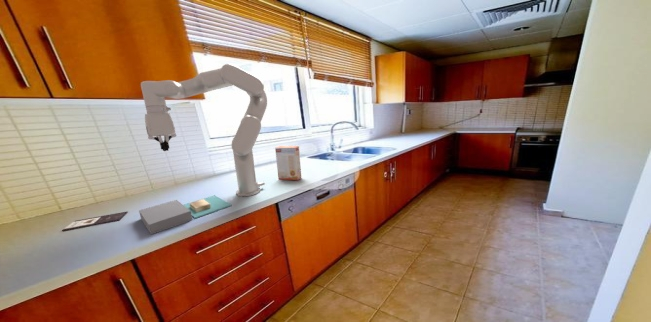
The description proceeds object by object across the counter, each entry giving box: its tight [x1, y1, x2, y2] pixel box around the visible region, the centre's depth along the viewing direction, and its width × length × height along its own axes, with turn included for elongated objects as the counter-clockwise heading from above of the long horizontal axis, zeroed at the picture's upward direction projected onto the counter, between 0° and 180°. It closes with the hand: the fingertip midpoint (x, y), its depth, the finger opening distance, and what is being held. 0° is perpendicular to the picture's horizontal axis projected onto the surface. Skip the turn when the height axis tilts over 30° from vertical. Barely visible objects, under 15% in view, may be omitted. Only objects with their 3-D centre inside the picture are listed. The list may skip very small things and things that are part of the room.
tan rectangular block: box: [189, 198, 211, 212], centre depth 103 cm, size 6×9×2 cm, turn 46°
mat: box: [183, 195, 233, 219], centre depth 105 cm, size 16×20×1 cm
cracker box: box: [274, 145, 302, 181], centre depth 140 cm, size 14×6×21 cm, turn 69°
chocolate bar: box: [61, 211, 129, 232], centre depth 96 cm, size 9×1×18 cm
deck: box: [138, 199, 193, 235], centre depth 94 cm, size 14×20×4 cm
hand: (165, 150), depth 104 cm, fingers closed
